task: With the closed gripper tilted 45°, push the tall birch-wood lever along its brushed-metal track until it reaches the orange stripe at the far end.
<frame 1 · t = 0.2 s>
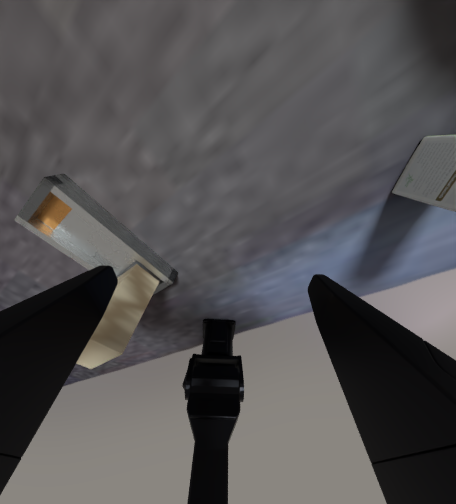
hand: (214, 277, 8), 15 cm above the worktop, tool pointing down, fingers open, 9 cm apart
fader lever: (119, 306, 21), point 7 cm above the worktop, slide at 0.0 cm
fader track: (113, 245, 24), on the worktop
syrup box: (427, 167, 18), on the worktop
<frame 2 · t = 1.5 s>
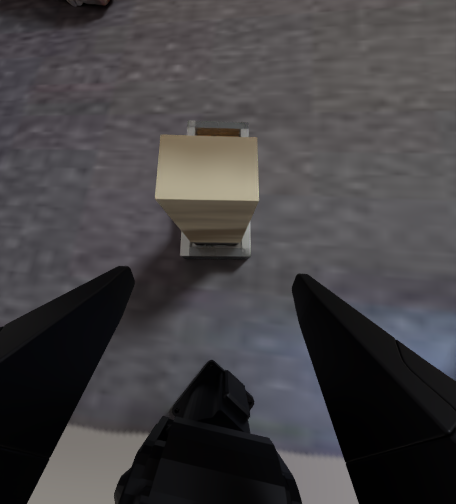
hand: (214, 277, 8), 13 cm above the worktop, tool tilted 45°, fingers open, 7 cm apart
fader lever: (213, 209, 15), point 7 cm above the worktop, slide at 0.0 cm
fader track: (217, 193, 23), on the worktop
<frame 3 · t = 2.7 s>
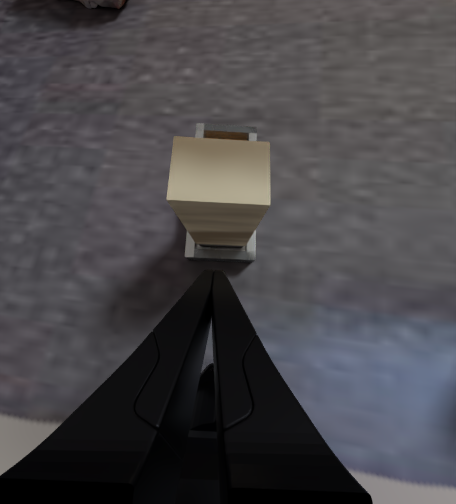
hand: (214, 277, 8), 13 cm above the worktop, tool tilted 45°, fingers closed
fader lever: (221, 211, 15), point 7 cm above the worktop, slide at 0.0 cm
fader track: (223, 196, 23), on the worktop
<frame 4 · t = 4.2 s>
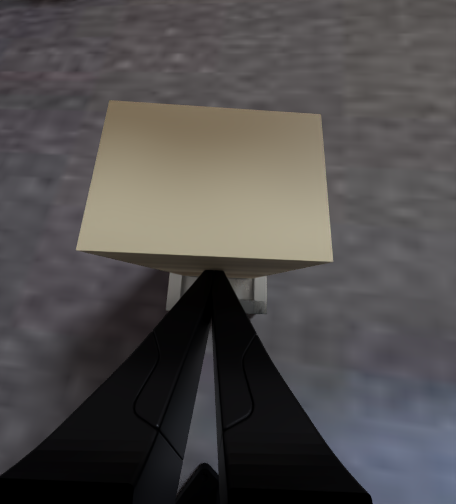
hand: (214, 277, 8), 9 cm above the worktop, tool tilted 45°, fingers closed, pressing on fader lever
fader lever: (218, 238, 10), point 7 cm above the worktop, slide at 1.3 cm, touching gripper
fader track: (222, 217, 17), on the worktop
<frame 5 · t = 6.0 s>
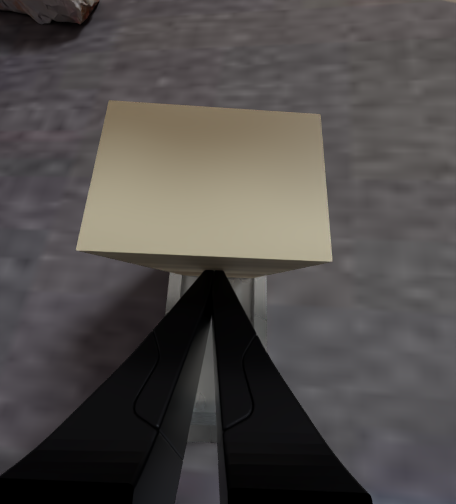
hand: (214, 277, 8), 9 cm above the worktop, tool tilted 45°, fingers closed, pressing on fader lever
food item: (54, 11, 23), on the worktop
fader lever: (218, 238, 10), point 7 cm above the worktop, slide at 9.9 cm, touching gripper
fader track: (217, 303, 16), on the worktop
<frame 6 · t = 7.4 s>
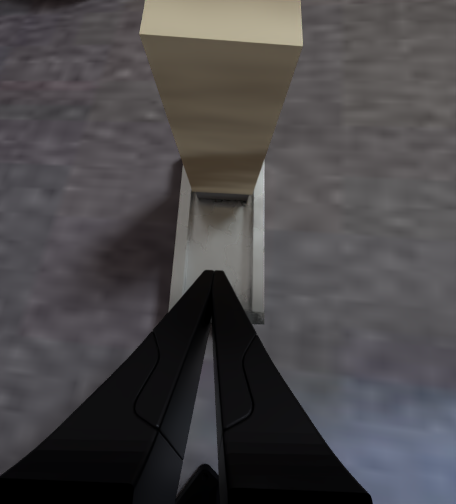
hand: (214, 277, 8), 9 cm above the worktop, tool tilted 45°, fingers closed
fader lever: (223, 133, 12), point 7 cm above the worktop, slide at 10.0 cm
fader track: (221, 227, 18), on the worktop
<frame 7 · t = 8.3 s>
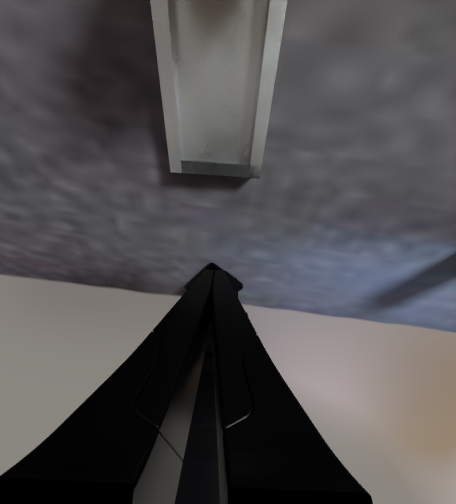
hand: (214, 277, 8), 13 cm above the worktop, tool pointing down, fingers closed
fader track: (220, 33, 12), on the worktop
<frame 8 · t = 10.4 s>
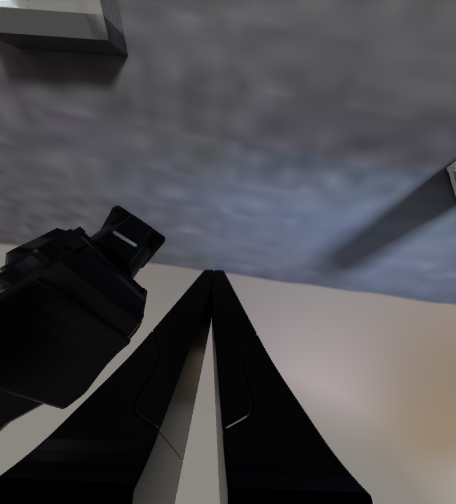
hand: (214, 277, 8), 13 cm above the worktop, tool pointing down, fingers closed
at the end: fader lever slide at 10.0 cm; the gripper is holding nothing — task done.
